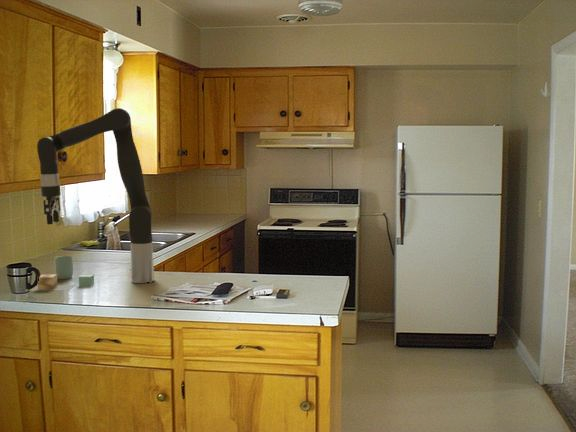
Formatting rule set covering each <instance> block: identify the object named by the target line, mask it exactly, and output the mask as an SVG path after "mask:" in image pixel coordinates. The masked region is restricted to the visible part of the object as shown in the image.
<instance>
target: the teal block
mask: <svg viewBox="0 0 576 432" xmlns="http://www.w3.org/2000/svg"><path fill="white" fill-rule="evenodd" d="M93 285H95V274H81V275H79V276H78V286H79V287H92V286H93Z"/></svg>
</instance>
